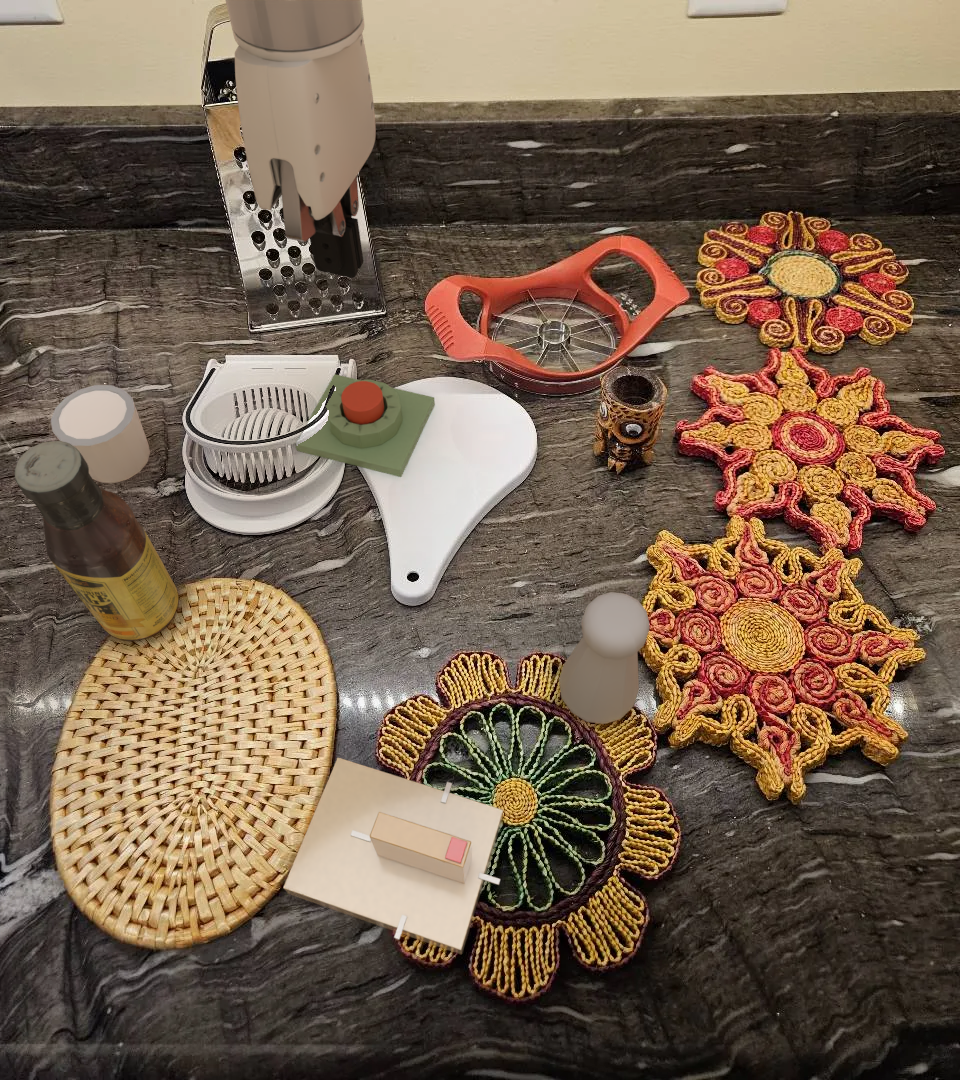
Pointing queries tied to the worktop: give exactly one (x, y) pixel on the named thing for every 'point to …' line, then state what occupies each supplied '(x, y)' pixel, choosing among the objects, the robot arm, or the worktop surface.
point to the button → (362, 402)
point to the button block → (371, 429)
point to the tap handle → (421, 847)
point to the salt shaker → (605, 659)
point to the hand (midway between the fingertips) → (339, 267)
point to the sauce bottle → (97, 543)
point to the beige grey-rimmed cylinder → (103, 431)
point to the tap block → (383, 884)
